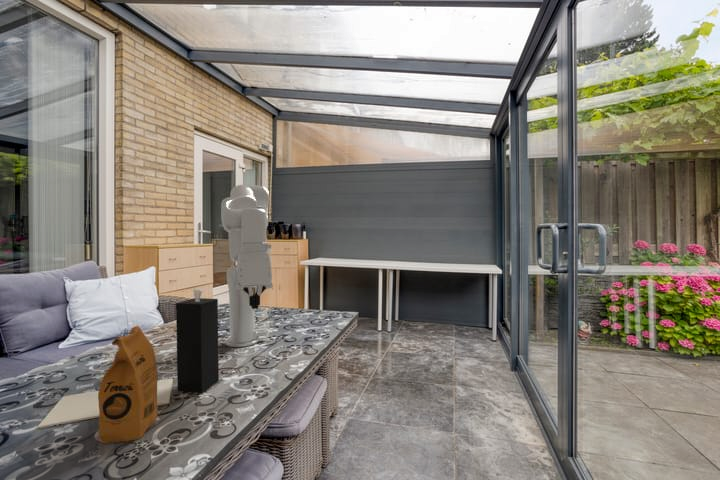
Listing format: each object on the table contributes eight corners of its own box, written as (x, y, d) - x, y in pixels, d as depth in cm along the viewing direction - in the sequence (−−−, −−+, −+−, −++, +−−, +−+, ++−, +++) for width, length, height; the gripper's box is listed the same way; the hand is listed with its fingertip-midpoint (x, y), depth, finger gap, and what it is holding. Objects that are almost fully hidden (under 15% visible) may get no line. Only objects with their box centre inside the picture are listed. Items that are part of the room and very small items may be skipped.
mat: (173, 379, 103) (173, 378, 103) (168, 403, 88) (168, 401, 88) (63, 398, 91) (63, 396, 91) (37, 428, 77) (37, 426, 77)
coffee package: (88, 448, 70) (86, 342, 70) (120, 416, 82) (118, 325, 82) (141, 442, 72) (140, 338, 71) (164, 412, 84) (163, 323, 84)
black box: (201, 393, 94) (200, 292, 93) (177, 391, 95) (175, 291, 95) (219, 381, 101) (217, 287, 101) (195, 379, 103) (194, 287, 102)
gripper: (276, 247, 111) (276, 303, 111) (227, 248, 105) (227, 308, 105) (281, 248, 104) (281, 308, 105) (229, 249, 98) (229, 313, 98)
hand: (254, 307), depth 105 cm, fingers closed
